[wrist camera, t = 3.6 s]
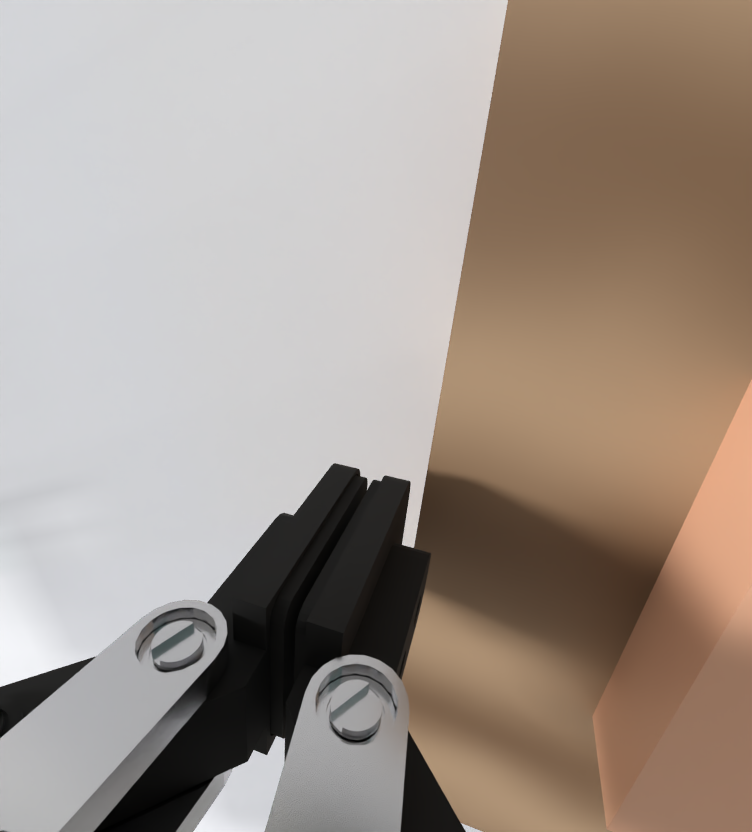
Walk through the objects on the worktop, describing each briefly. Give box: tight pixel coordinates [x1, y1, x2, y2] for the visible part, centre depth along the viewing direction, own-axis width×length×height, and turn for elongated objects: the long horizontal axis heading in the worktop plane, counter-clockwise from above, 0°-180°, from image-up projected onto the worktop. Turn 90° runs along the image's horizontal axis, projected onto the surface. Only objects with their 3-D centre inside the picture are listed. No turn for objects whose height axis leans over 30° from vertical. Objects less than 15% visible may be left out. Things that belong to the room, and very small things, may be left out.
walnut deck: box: [402, 0, 752, 832], centre depth 11 cm, size 22×14×4 cm, turn 174°
